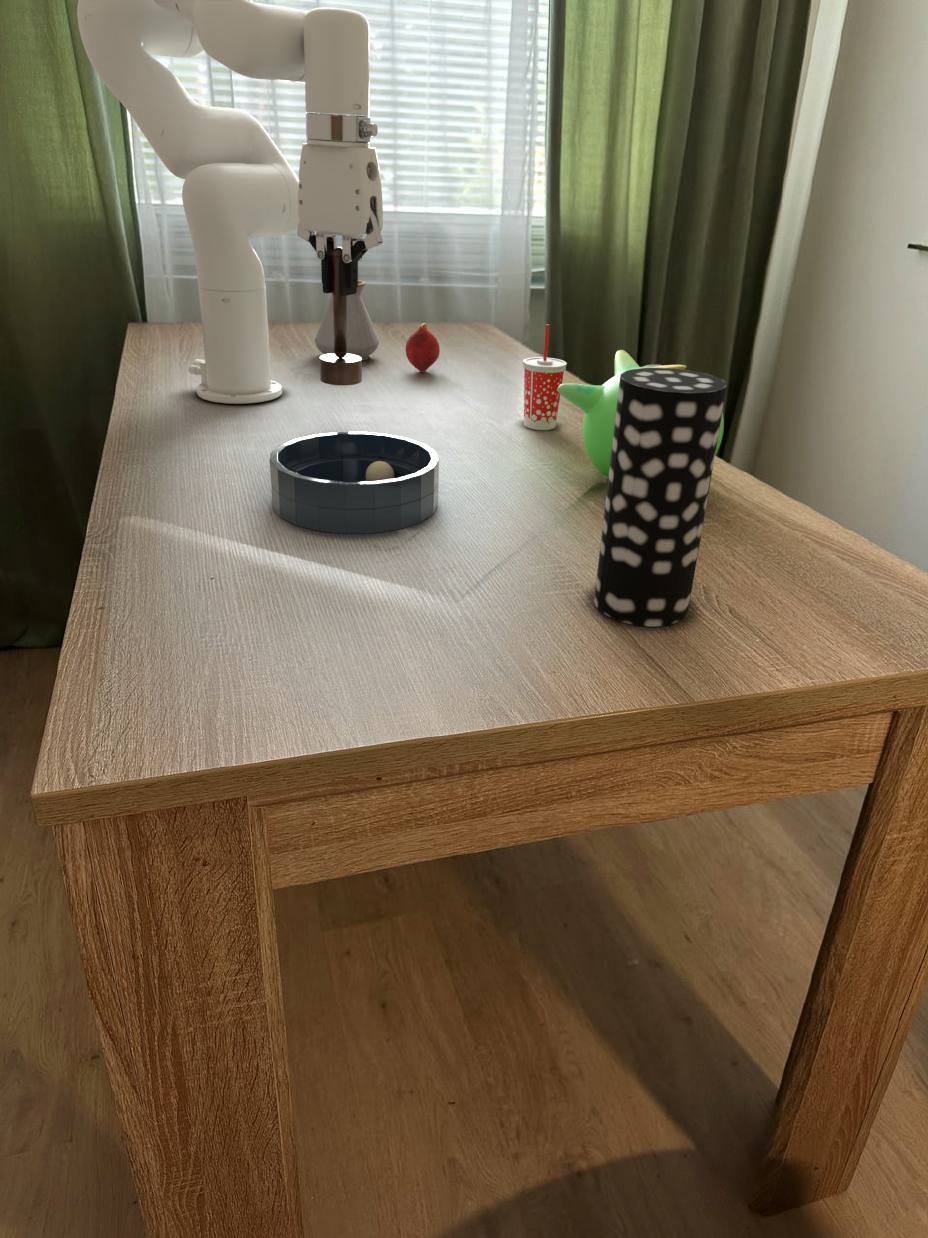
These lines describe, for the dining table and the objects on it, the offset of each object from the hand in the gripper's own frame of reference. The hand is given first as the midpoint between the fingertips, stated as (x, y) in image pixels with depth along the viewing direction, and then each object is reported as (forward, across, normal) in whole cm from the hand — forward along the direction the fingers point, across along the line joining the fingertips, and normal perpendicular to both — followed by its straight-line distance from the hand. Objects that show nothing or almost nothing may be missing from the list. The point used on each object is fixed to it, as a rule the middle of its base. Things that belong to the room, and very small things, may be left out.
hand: (339, 292), depth 119 cm
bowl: (+17, -19, +25) cm, 36 cm away
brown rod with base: (+11, 0, 0) cm, 11 cm away
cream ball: (+17, -19, +20) cm, 32 cm away
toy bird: (+17, -43, -1) cm, 46 cm away
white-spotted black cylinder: (+17, -53, +31) cm, 63 cm away
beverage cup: (+18, -23, -17) cm, 33 cm away
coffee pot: (+19, +27, -41) cm, 53 cm away
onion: (+18, +7, -36) cm, 41 cm away
